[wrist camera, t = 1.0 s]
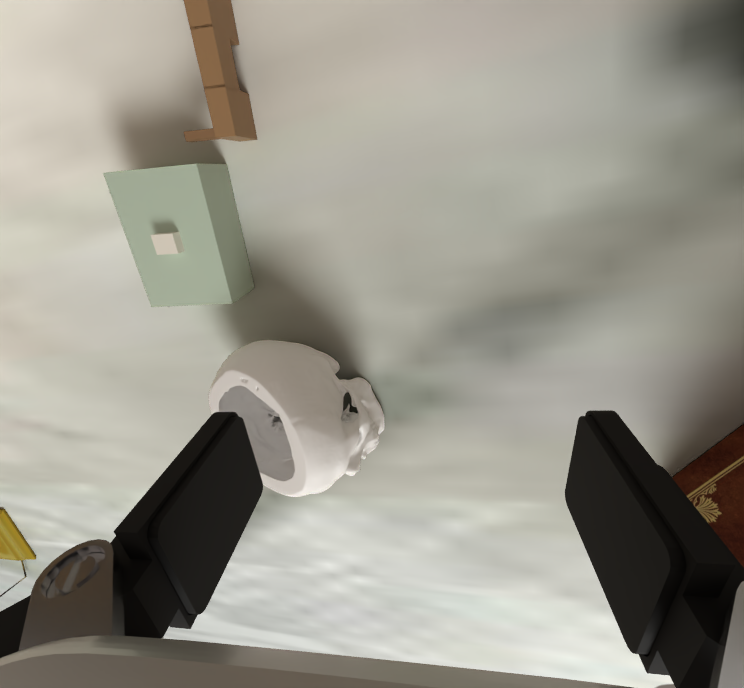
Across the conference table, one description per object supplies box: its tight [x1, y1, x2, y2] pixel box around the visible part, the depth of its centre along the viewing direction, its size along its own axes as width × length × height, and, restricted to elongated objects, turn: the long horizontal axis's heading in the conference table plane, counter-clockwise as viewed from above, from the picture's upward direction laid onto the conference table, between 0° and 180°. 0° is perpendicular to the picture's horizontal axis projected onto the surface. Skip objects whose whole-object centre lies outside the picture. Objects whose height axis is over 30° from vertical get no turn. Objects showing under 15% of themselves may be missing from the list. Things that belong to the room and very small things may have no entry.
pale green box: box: [103, 164, 255, 307], centre depth 40 cm, size 14×10×7 cm
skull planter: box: [208, 340, 385, 497], centre depth 46 cm, size 14×20×19 cm
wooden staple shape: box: [184, 0, 257, 142], centre depth 34 cm, size 12×5×5 cm, turn 4°
